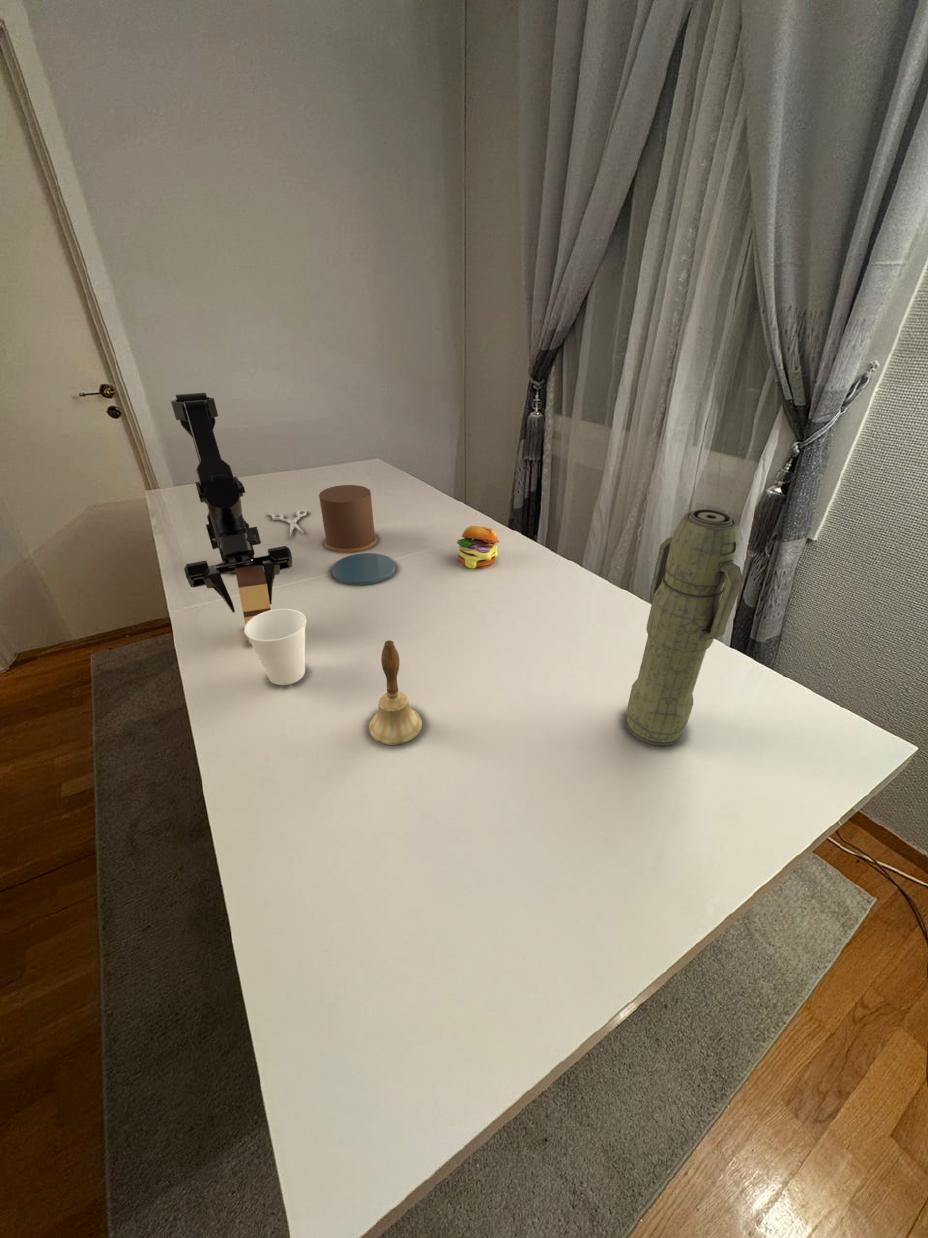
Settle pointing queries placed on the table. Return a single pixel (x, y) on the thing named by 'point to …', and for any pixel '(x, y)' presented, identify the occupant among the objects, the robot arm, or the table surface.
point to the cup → (279, 643)
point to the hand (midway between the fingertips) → (252, 607)
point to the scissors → (292, 522)
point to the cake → (347, 518)
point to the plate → (363, 569)
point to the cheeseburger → (478, 546)
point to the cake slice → (252, 591)
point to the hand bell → (393, 706)
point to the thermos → (683, 622)
